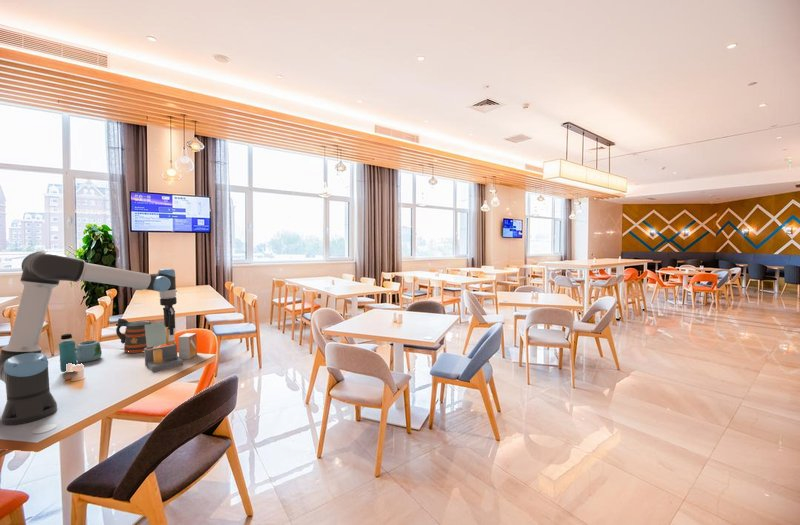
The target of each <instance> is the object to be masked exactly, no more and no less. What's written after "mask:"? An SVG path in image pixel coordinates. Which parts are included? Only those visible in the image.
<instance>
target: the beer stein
mask: <svg viewBox="0 0 800 525" xmlns="http://www.w3.org/2000/svg"><path fill="white" fill-rule="evenodd" d="M147 324H152V322H151V321H143V320H139V321H128V320H127V319H125V318H118V319H117V323H115V327H116V328H115V331H116V335H117V337H118V338H119V339H120V340H121V341H120V343H122V345H124V346H123V347H124V352H125V353H126V352H127V354H138V353H139V354H140V353H144V348H147V343H146V334H145V325H147ZM122 327H126V328H125V331H124V332H125V333H122V332H121V330H120V329H121V328H122ZM153 348H154V347H148V348H147V350H148V349H153ZM128 351H129V352H128Z"/></svg>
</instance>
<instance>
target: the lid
mask: <svg viewBox="0 0 800 525" xmlns="http://www.w3.org/2000/svg"><path fill="white" fill-rule="evenodd" d="M165 328H166V327H165V325H164V321H163V322H156V323H155V322H154V323H151V324H147V325H145V334H146V343H147V348H148V347H153V348H155V347H157V346H158V347H160V346H165V345H166V330H165Z"/></svg>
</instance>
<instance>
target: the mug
mask: <svg viewBox="0 0 800 525" xmlns="http://www.w3.org/2000/svg"><path fill="white" fill-rule="evenodd" d="M101 346H102V345H101V342H100V341H99V340H87V341H82V342H79V343H78V344H76V356H77V357H76V360H77V362H80V363H88V362H93V361H97V360H99V359H100V358H101V357H102V354H103V353H102V348H101Z"/></svg>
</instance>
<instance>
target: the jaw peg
mask: <svg viewBox="0 0 800 525" xmlns="http://www.w3.org/2000/svg"><path fill="white" fill-rule="evenodd" d="M167 328H168V327H166V328H165V330H166V344H165V346H169V345H174V344H175V342H176V340H173V341H168V330H167ZM174 338H175V339H176V337H175V334H174Z"/></svg>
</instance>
